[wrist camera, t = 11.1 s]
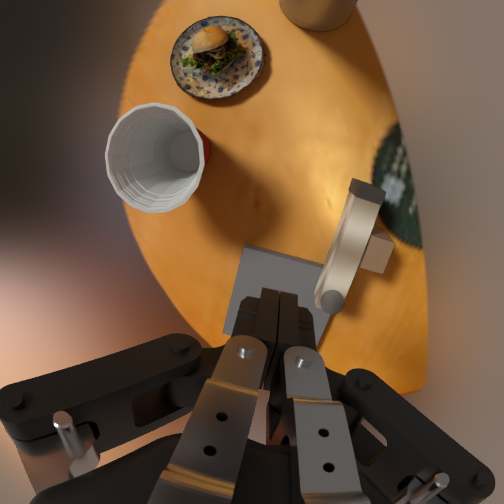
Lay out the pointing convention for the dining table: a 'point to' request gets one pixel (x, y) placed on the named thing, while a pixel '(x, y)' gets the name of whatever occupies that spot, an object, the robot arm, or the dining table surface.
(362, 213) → the folding leg
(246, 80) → the burger
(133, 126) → the plastic cup
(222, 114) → the dining table surface
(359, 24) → the dining table surface
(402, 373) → the dining table surface
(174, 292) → the dining table surface
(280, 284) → the grey slab beige block
